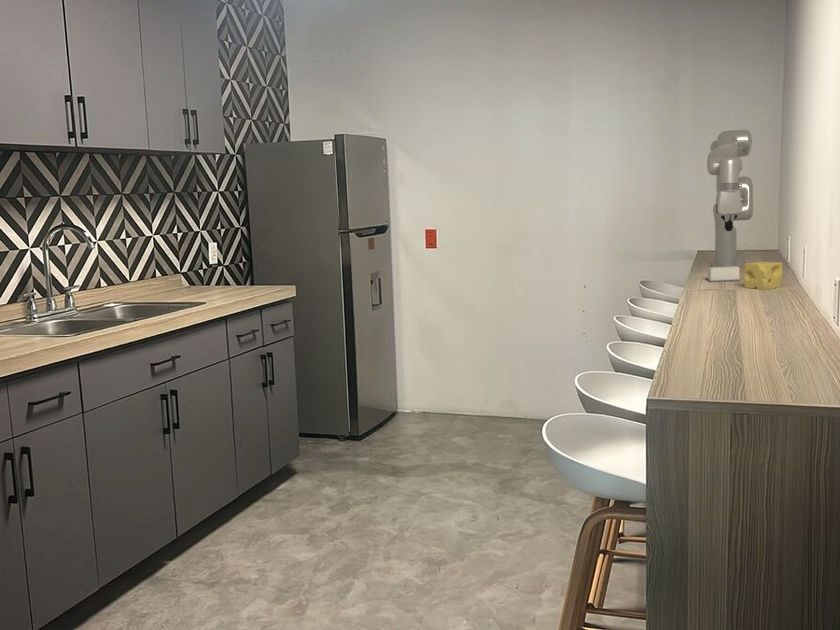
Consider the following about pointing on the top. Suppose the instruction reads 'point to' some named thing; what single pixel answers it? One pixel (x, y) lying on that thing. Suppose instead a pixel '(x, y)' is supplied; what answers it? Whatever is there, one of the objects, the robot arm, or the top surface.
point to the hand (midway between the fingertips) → (728, 230)
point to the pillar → (724, 273)
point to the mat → (720, 280)
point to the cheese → (763, 275)
